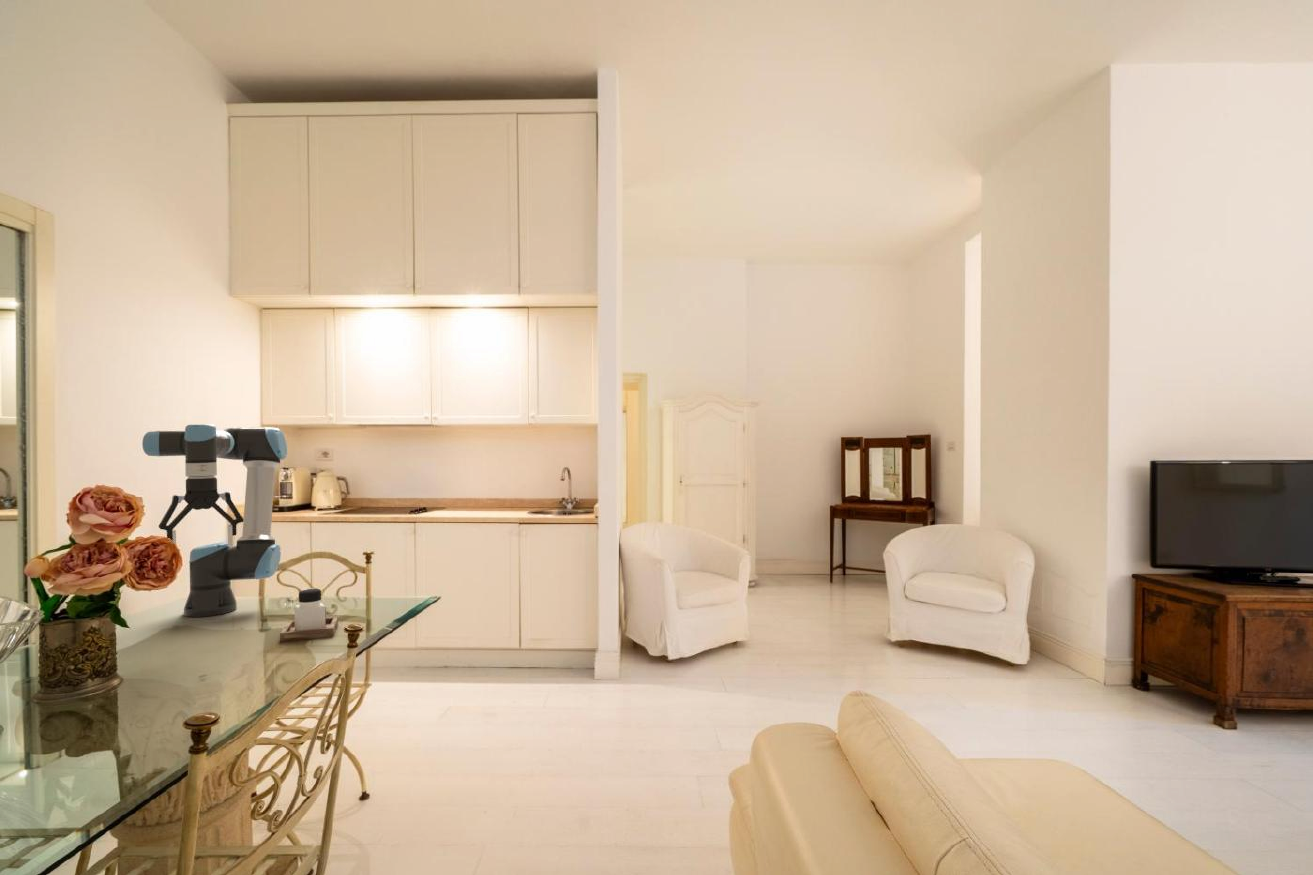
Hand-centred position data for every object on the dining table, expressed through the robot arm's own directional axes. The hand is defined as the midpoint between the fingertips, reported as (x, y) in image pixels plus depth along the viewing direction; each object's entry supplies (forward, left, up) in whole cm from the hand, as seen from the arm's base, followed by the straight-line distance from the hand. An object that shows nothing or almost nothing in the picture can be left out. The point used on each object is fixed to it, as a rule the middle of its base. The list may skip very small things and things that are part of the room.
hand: (202, 550), depth 192 cm
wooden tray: (+1, +28, -27) cm, 39 cm away
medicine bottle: (+1, +28, -26) cm, 38 cm away
